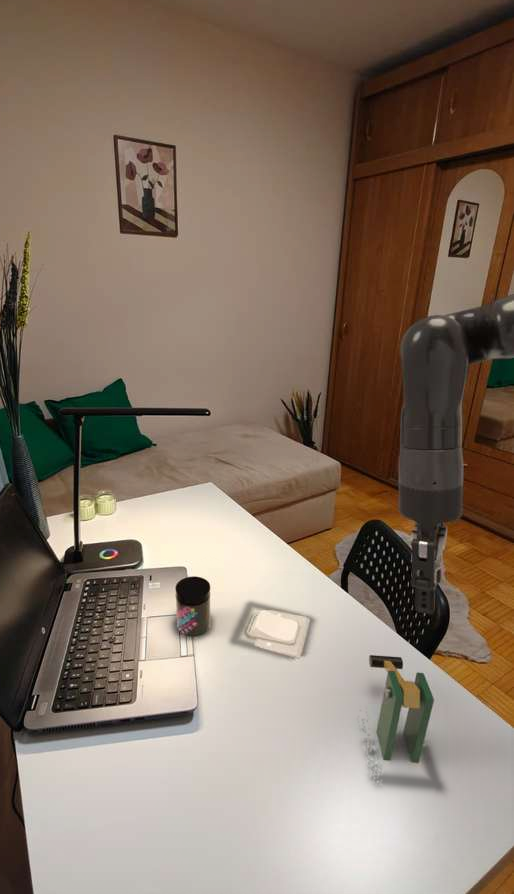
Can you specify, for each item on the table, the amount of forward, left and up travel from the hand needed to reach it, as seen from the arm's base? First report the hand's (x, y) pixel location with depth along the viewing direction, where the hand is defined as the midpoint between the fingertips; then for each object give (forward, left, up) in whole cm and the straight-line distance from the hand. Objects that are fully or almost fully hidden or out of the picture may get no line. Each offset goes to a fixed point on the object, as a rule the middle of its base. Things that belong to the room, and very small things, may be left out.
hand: (428, 595), depth 59 cm
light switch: (+19, -19, -27) cm, 38 cm away
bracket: (+1, +3, -27) cm, 27 cm away
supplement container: (+35, -19, -27) cm, 48 cm away
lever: (+1, -1, -18) cm, 18 cm away
